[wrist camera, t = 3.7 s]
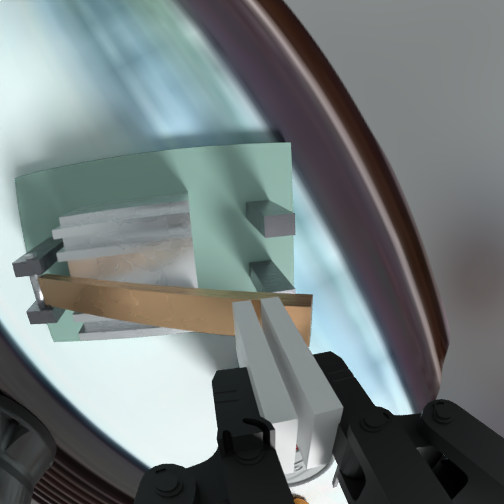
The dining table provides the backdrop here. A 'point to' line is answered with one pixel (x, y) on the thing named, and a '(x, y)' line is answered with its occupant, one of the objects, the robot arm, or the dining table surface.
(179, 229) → the heat sink
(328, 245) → the dining table surface
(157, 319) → the strap
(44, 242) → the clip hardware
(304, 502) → the coffee package
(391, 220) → the dining table surface
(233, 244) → the board
